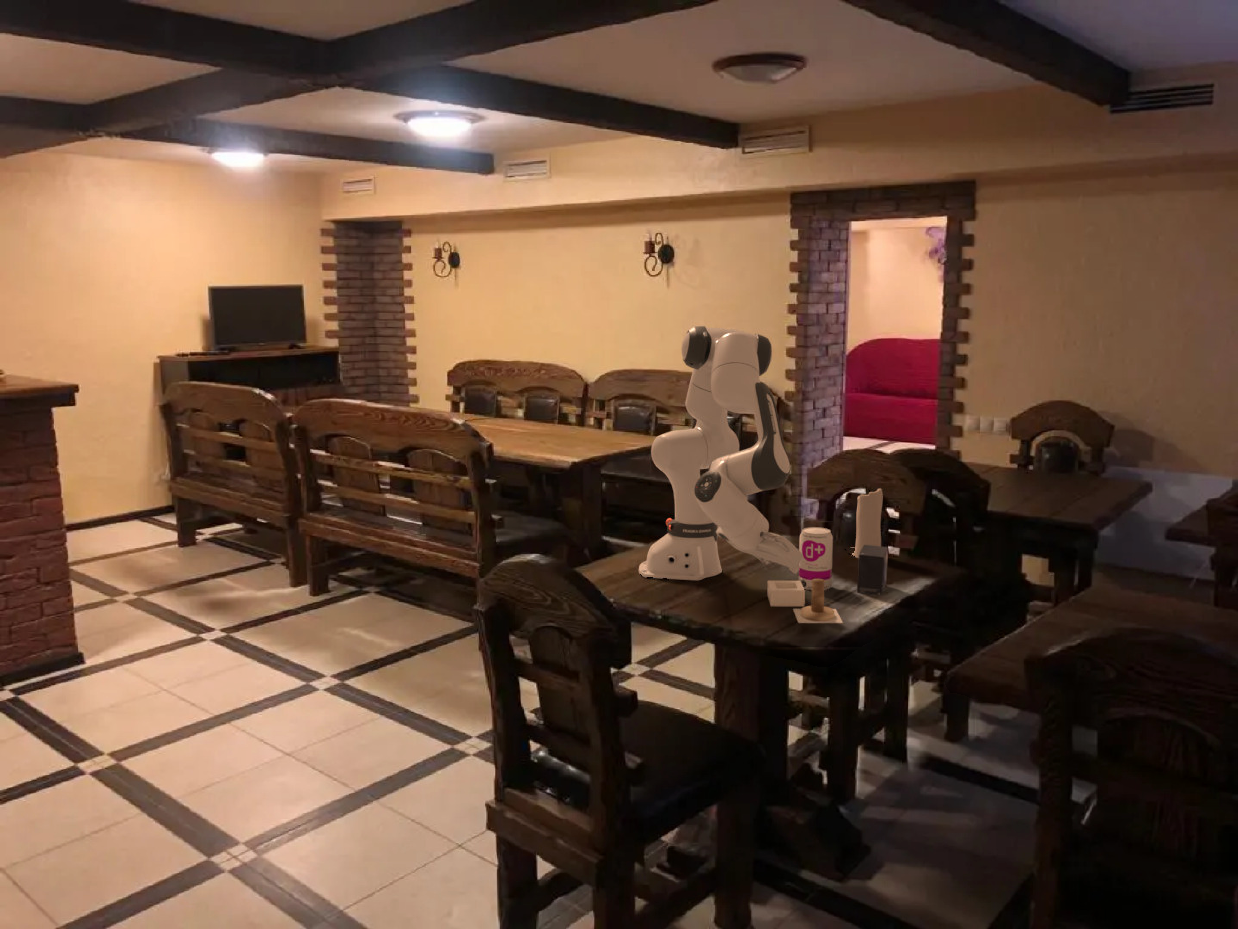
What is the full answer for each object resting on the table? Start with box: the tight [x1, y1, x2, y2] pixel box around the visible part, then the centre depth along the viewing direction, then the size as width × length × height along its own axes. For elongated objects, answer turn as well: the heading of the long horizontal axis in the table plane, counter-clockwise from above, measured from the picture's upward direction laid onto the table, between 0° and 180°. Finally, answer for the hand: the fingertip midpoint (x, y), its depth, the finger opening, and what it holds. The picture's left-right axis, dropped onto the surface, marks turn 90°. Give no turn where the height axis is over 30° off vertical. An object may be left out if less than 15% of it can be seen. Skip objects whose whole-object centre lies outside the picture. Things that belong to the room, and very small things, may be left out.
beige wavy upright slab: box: [851, 487, 884, 559], centre depth 283 cm, size 7×14×20 cm, turn 19°
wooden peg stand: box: [800, 579, 834, 621], centre depth 229 cm, size 8×8×8 cm
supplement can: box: [798, 526, 834, 591], centre depth 252 cm, size 8×8×15 cm
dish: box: [767, 580, 806, 607], centre depth 240 cm, size 8×8×4 cm
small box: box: [856, 545, 889, 595], centre depth 249 cm, size 11×6×10 cm, turn 160°
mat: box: [792, 608, 844, 624], centre depth 229 cm, size 10×10×1 cm
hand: (781, 565), depth 221 cm, fingers open, 8 cm apart
